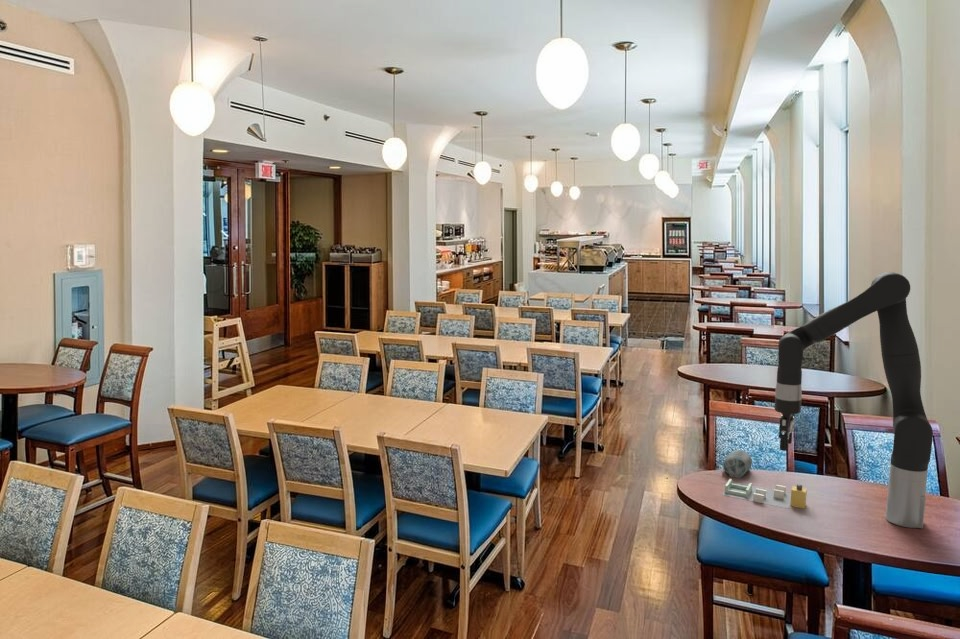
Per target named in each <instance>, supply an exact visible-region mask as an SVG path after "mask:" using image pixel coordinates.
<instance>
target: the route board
mask: <svg viewBox="0 0 960 639" xmlns="http://www.w3.org/2000/svg"><path fill="white" fill-rule="evenodd" d="M732 483H733V484H738V485H743V486H748V485H749V484H747V483H742V482H736V481H732ZM756 488H758V489H763V490H766V498H764V502H763V503H762V504H763V505H768V506H773V507H778V508H783V509H788V510H789V509H790V508H791V506H790V503H791V492H787V491H786V494H784V499H780V498H775V497H773V494H774V489H773V488H766V487H763V486H757V485H752V491H751V493H750V494H749V496H748V497H744V496H739V495H734V494H730V493H725V490H724V491H723V492H722V494H721V496H726V497H731V498H734V499H740V500H744V501H750V502H754V503H759V504H761V503H760V502H756V501H753V494H754V493H756ZM729 490H734V491H739V492H744V493H746V490H744V489H739V488H734V487H731V488H730V489H729Z"/></svg>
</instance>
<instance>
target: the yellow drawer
mask: <svg viewBox="0 0 960 639" xmlns="http://www.w3.org/2000/svg"><path fill="white" fill-rule="evenodd" d="M790 493H791V503H790V507H794V508H795V507H796V508H800V509H805V508H806V504H807V496H808V494H807V493H808V488H807V487H803V485H802V484H796V485H792V488H791V490H790Z"/></svg>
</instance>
